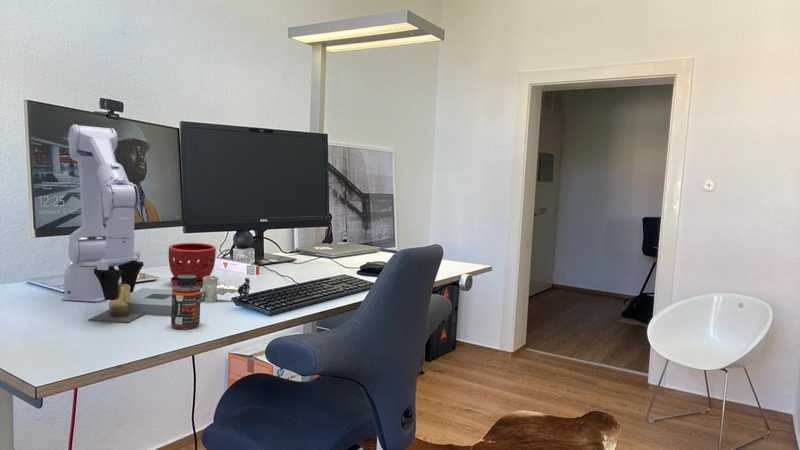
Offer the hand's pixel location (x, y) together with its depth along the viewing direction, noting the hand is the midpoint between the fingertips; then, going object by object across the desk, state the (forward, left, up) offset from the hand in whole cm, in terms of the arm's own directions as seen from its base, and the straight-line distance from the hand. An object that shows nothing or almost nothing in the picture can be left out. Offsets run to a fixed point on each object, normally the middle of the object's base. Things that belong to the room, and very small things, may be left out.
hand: (119, 295), depth 122 cm
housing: (+4, +11, -5) cm, 13 cm away
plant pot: (+2, +37, -5) cm, 37 cm away
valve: (+18, +20, -5) cm, 27 cm away
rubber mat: (0, 0, -5) cm, 5 cm away
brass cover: (0, 0, -4) cm, 5 cm away
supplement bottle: (+17, -4, -5) cm, 18 cm away
